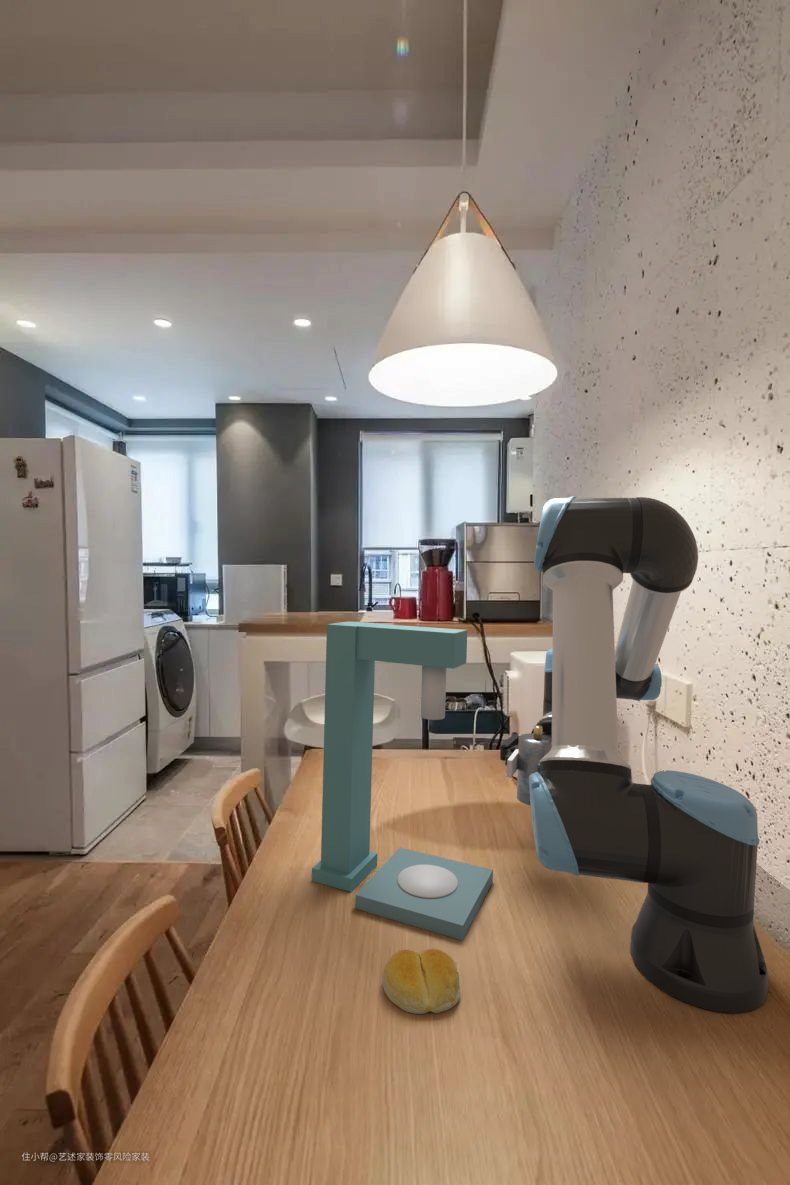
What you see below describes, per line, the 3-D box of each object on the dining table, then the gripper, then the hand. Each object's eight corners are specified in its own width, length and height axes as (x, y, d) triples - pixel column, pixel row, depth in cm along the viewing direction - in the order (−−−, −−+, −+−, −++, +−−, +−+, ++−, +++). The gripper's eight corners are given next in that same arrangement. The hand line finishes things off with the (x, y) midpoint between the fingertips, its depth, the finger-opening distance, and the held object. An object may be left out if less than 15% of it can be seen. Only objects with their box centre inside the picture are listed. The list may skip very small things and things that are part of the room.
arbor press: (492, 882, 90) (501, 629, 89) (462, 940, 76) (472, 638, 74) (349, 846, 101) (356, 619, 99) (299, 891, 86) (305, 626, 85)
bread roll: (381, 967, 70) (382, 935, 70) (453, 966, 71) (454, 935, 71) (383, 1019, 62) (384, 983, 62) (465, 1018, 63) (466, 983, 62)
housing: (560, 806, 91) (563, 731, 91) (523, 806, 90) (526, 731, 90) (546, 791, 97) (549, 721, 97) (511, 792, 96) (514, 721, 96)
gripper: (605, 762, 106) (594, 808, 85) (504, 747, 114) (470, 785, 93) (607, 722, 106) (596, 758, 85) (505, 710, 114) (472, 739, 93)
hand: (530, 772), depth 89 cm, fingers closed on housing, 6 cm apart
